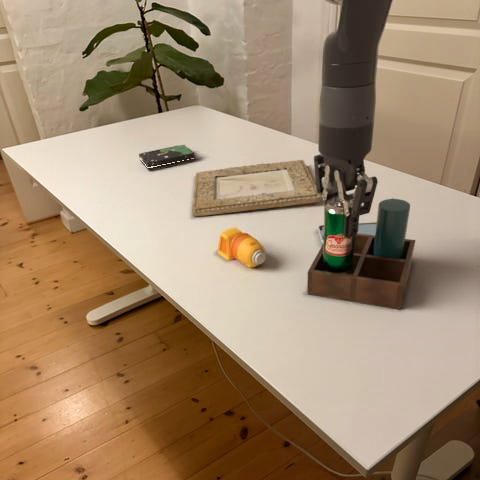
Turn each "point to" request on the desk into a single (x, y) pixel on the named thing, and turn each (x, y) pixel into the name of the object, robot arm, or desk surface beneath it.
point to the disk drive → (167, 157)
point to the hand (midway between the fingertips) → (340, 228)
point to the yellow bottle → (241, 247)
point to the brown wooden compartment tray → (364, 276)
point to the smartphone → (362, 229)
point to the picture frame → (253, 188)
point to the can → (391, 228)
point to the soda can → (336, 239)
